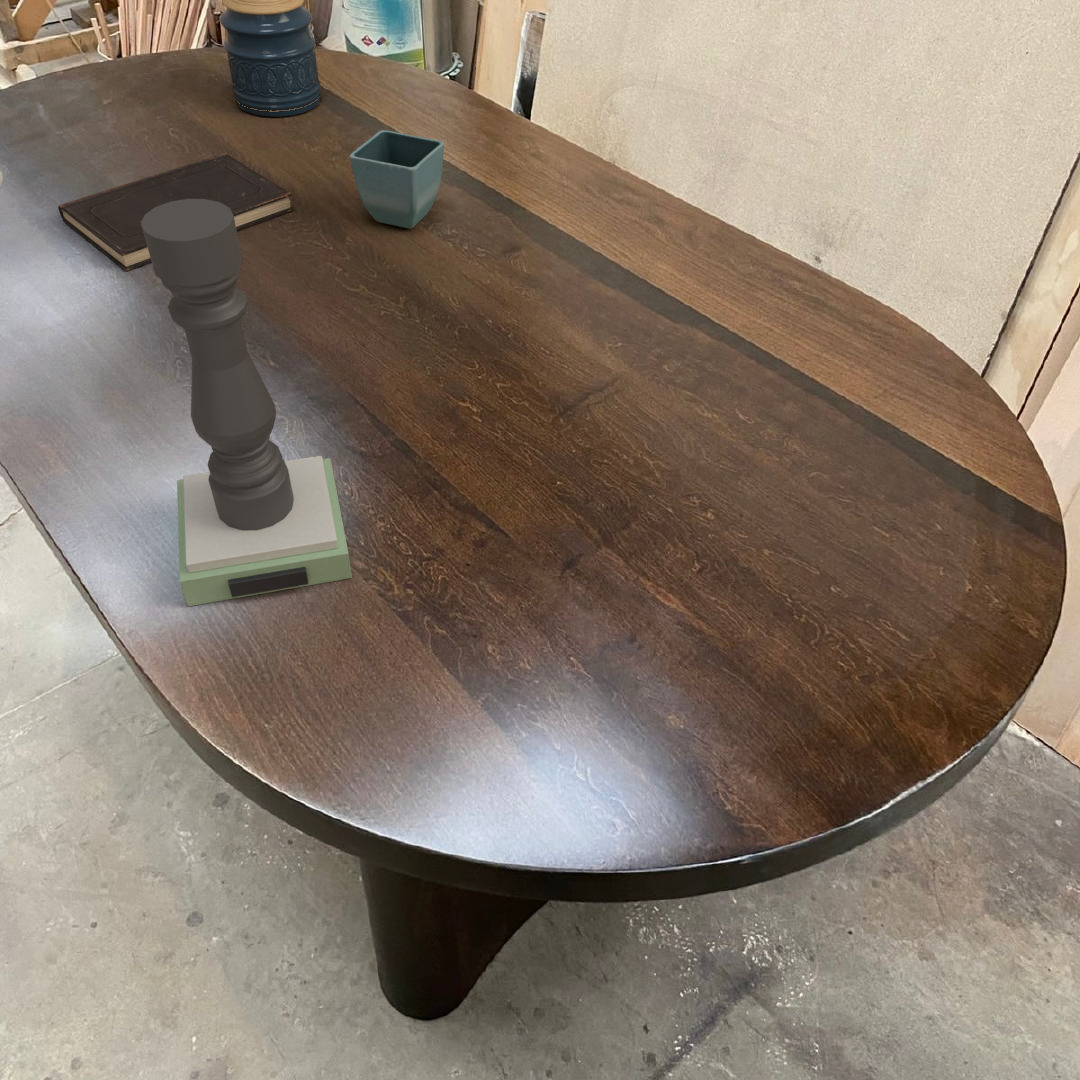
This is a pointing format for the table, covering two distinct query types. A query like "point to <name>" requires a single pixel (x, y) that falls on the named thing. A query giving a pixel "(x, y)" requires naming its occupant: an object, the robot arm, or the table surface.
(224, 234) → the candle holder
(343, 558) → the scale
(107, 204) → the hardcover book
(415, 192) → the flower pot
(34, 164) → the table surface
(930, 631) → the table surface
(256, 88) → the canister
